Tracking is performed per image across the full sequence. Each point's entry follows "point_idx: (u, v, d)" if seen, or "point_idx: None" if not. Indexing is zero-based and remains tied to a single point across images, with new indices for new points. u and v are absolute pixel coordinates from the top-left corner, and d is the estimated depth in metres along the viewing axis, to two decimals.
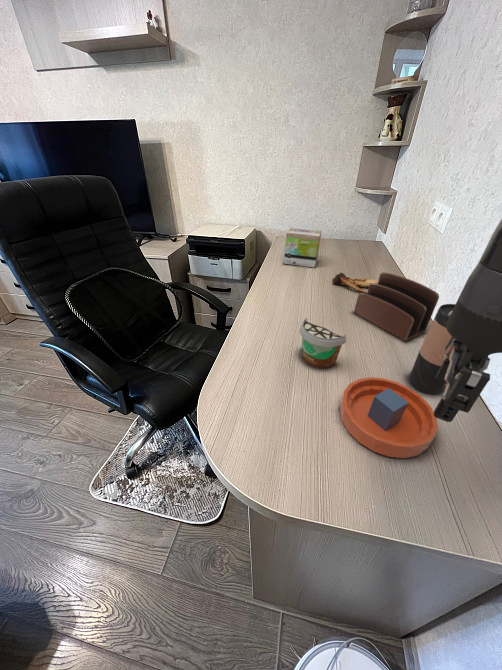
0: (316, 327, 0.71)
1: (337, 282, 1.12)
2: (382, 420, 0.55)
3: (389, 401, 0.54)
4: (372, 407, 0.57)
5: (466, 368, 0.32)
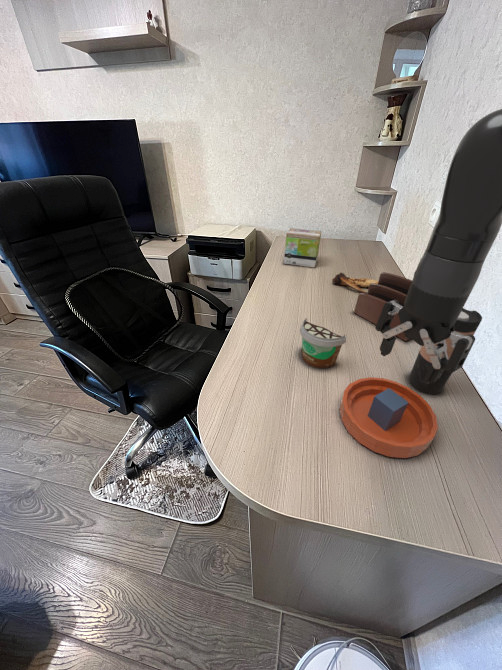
0: (316, 327, 0.71)
1: (337, 282, 1.12)
2: (382, 420, 0.55)
3: (389, 401, 0.54)
4: (372, 407, 0.57)
5: (464, 339, 0.39)
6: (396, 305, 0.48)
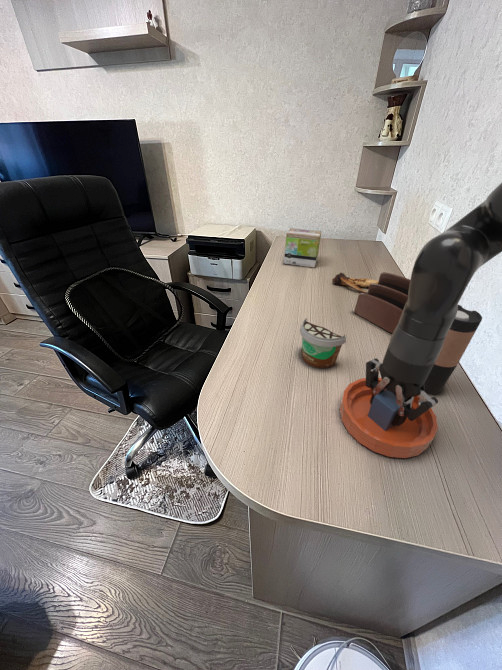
0: (316, 327, 0.71)
1: (337, 282, 1.12)
2: (382, 420, 0.55)
3: (389, 401, 0.54)
4: (372, 407, 0.57)
5: (429, 404, 0.47)
6: (376, 362, 0.55)
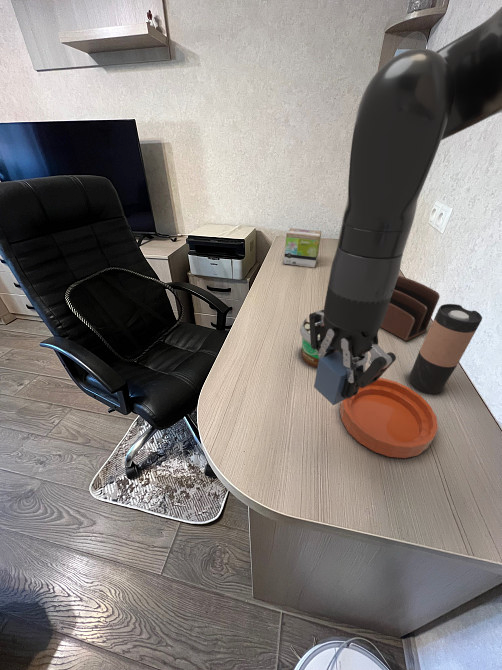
0: None
1: None
2: (329, 391, 0.42)
3: (336, 365, 0.40)
4: (317, 374, 0.43)
5: (382, 360, 0.33)
6: (320, 314, 0.41)
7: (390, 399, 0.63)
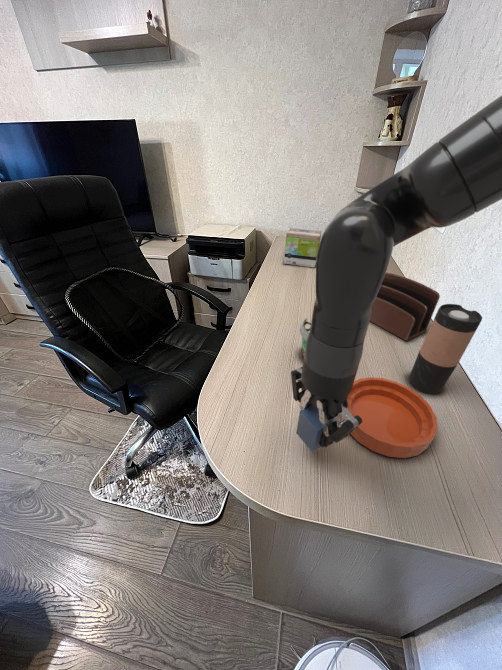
0: None
1: None
2: (309, 440, 0.47)
3: (314, 418, 0.46)
4: (299, 424, 0.48)
5: (349, 424, 0.38)
6: (300, 372, 0.47)
7: (390, 399, 0.63)
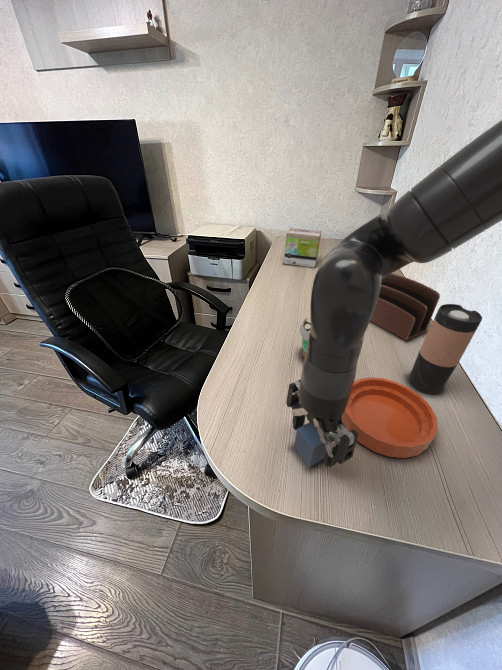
0: None
1: None
2: (305, 456, 0.50)
3: (311, 436, 0.48)
4: (296, 440, 0.51)
5: (345, 438, 0.40)
6: (299, 387, 0.49)
7: (390, 399, 0.63)
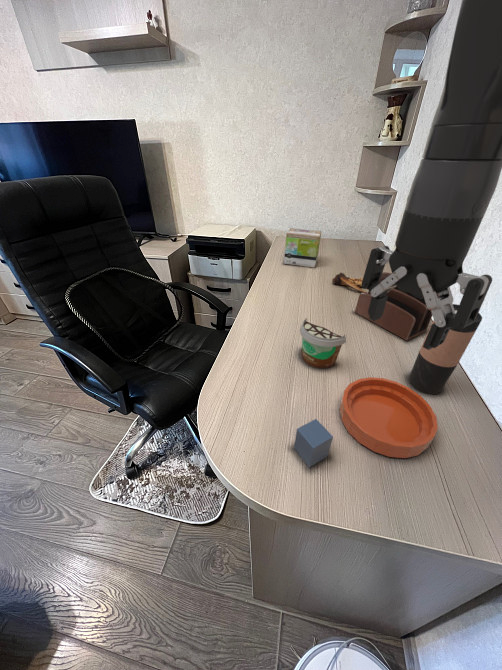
0: (316, 327, 0.71)
1: (337, 282, 1.12)
2: (305, 456, 0.50)
3: (311, 436, 0.48)
4: (296, 440, 0.51)
5: (478, 279, 0.29)
6: (386, 250, 0.37)
7: (390, 399, 0.63)
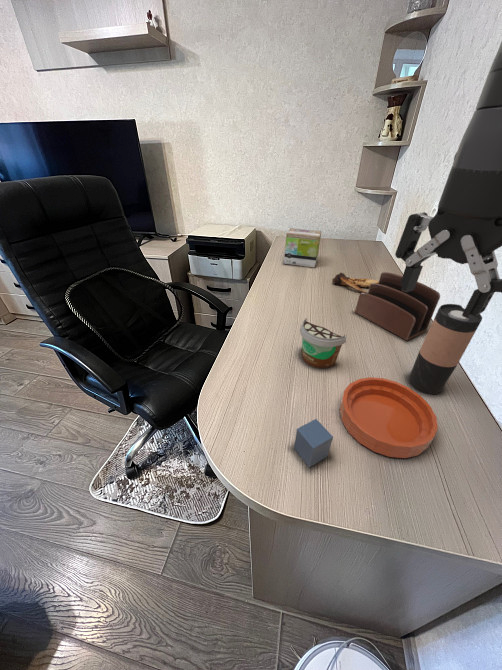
0: (316, 327, 0.71)
1: (337, 282, 1.12)
2: (305, 456, 0.50)
3: (311, 436, 0.48)
4: (296, 440, 0.51)
5: None
6: (425, 216, 0.36)
7: (390, 399, 0.63)
